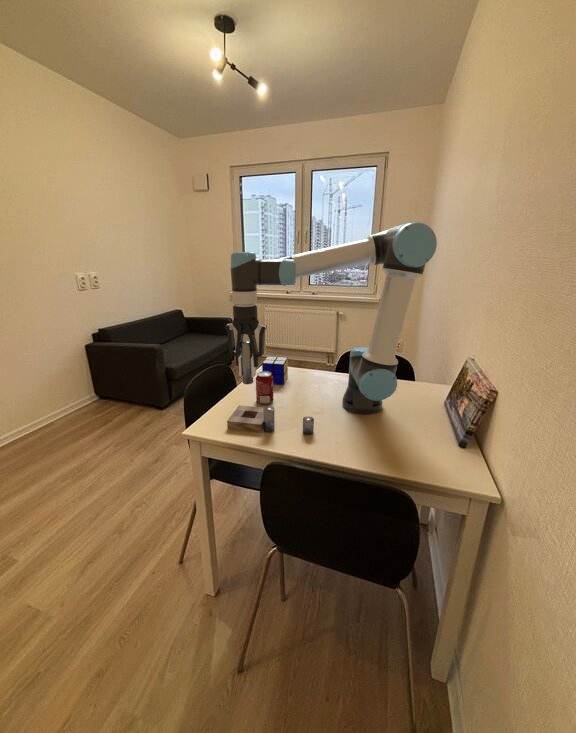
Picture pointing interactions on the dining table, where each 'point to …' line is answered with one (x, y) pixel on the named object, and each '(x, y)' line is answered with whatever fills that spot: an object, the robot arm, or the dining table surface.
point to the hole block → (247, 419)
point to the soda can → (264, 387)
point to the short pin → (308, 425)
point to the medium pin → (269, 419)
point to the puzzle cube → (276, 369)
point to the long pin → (246, 362)
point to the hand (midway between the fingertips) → (247, 375)
